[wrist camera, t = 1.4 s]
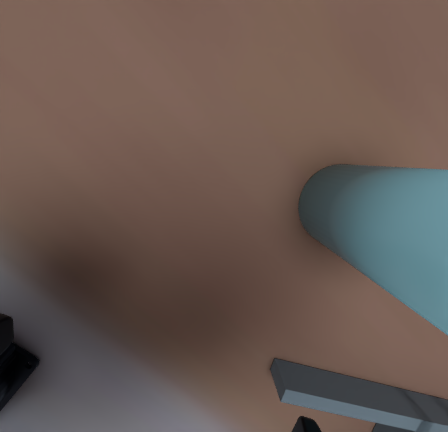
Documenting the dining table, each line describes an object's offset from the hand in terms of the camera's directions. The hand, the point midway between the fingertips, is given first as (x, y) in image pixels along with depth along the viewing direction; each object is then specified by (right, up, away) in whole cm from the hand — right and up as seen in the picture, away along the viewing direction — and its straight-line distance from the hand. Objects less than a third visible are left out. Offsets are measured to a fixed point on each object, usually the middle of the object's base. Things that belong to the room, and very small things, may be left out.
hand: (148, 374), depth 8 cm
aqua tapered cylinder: (+10, +5, +11) cm, 16 cm away
